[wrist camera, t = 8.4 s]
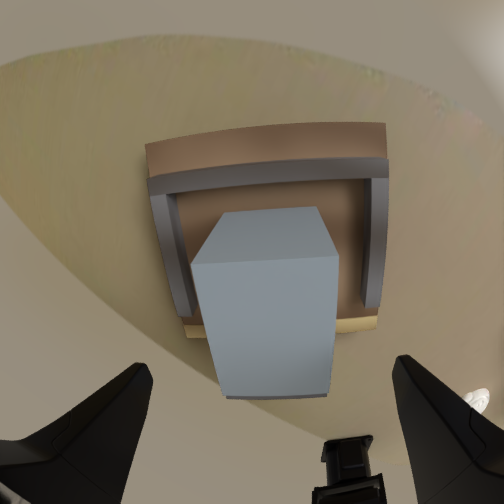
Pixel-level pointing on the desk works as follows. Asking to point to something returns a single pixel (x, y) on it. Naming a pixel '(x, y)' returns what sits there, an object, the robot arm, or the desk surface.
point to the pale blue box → (269, 302)
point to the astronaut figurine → (477, 399)
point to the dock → (276, 201)
